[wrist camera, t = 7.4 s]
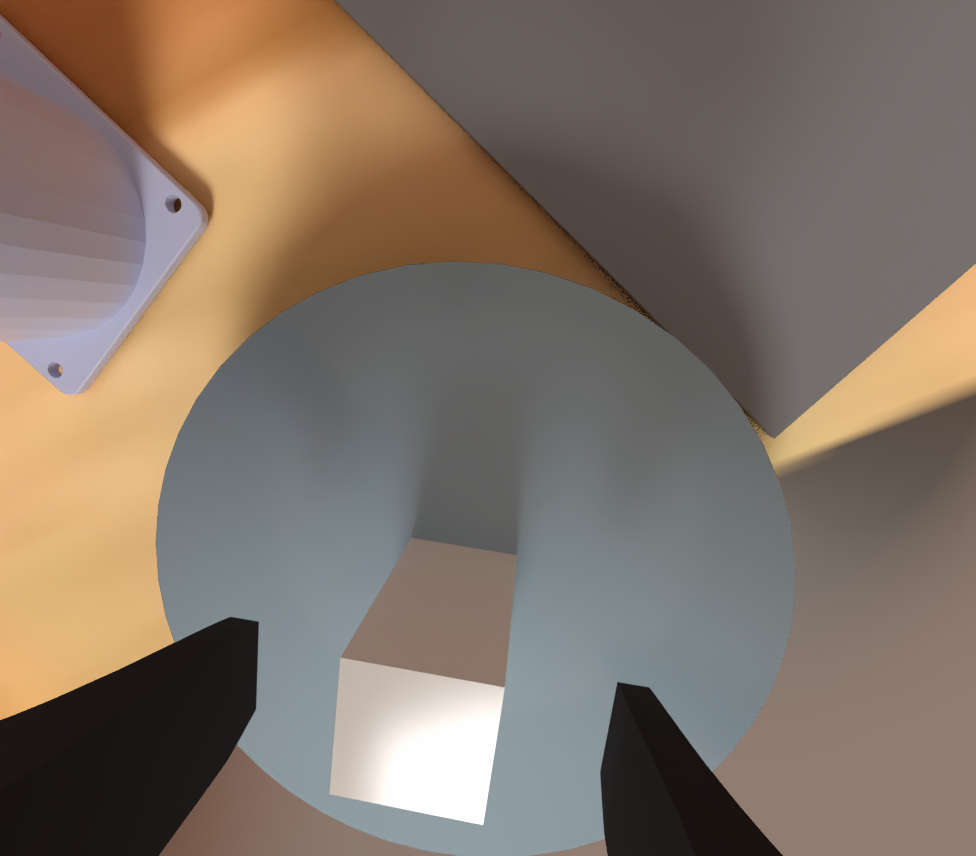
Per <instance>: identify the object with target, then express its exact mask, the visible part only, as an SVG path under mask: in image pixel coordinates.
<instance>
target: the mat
mask: <svg viewBox="0 0 976 856" xmlns="http://www.w3.org/2000/svg"><path fill="white" fill-rule="evenodd" d="M334 1H335V2H336V3H337V4H338V5H339V6H340V7H341V8H342V9H343V10H344V11H345V12H346V13H347V14H348V15H349V16H350V17H351V18H352V19H353V20H354V21H355V22H356V23H357V24H358V25H359V26H360V27H361V28H362V29H363V30H364V31H365V32H366V33H367V34H368V35H369V36H370V37H371V38H372V39H373V40H374V41H375V42H376V43H377V44H378V45H379V46H380V47H381V48H382V49H383V50H384V51H385V52H386V53H387V54H388V55H389V56H390V57H391V58H392V59H393V60H394V61H395V62H396V63H397V64H398V65H399V66H400V67H401V68H402V69H403V70H404V71H405V72H406V73H407V74H408V75H409V76H410V77H411V78H412V79H413V80H414V81H415V82H416V83H417V84H418V85H419V86H420V87H421V88H422V89H423V90H424V91H425V92H426V93H427V94H428V95H429V96H430V97H431V98H432V99H433V100H434V101H435V102H436V103H437V104H438V105H439V106H440V107H441V108H442V109H443V110H444V111H445V112H446V113H447V114H448V115H449V116H450V117H451V118H452V119H453V120H454V121H455V122H456V123H457V124H458V125H459V126H460V127H461V128H462V129H463V130H464V131H465V132H466V133H467V134H468V135H469V136H470V137H471V138H472V139H473V140H474V141H475V142H476V143H477V144H478V145H479V146H480V147H481V148H482V149H483V150H484V151H485V152H486V153H487V154H488V155H489V156H490V157H491V158H492V159H493V160H494V161H495V162H496V163H497V164H498V165H499V166H500V167H501V168H502V169H503V170H504V171H505V172H506V173H507V174H508V175H509V176H510V177H511V178H512V179H513V180H514V181H515V182H516V183H517V184H518V185H519V186H520V187H521V188H522V189H523V190H524V191H525V192H526V193H527V194H528V195H529V196H530V197H531V198H532V199H533V200H534V201H535V202H536V203H537V204H538V205H539V206H540V207H541V208H542V209H543V210H544V211H545V212H546V213H547V214H548V215H549V216H550V217H551V218H552V219H553V220H554V221H555V222H556V223H557V224H558V225H559V226H560V227H561V228H562V229H563V230H564V231H565V232H566V233H567V234H568V235H569V236H570V237H571V238H572V239H573V240H574V241H575V242H576V243H577V244H578V245H579V246H580V247H581V248H582V249H583V250H584V251H585V252H586V253H587V254H588V255H589V256H590V257H591V258H592V259H593V260H594V261H595V262H596V263H597V264H598V265H599V266H600V267H601V268H602V269H603V270H604V271H605V272H606V273H607V274H608V275H609V276H610V277H611V278H612V279H613V280H614V281H615V282H616V283H617V284H618V285H619V286H620V287H621V288H622V289H623V290H624V291H625V292H626V293H627V294H628V295H629V296H630V297H631V298H632V299H633V300H634V301H635V302H636V303H637V304H638V305H639V306H640V307H641V308H642V309H643V310H644V311H645V312H646V313H647V314H648V315H649V316H650V317H651V318H652V319H653V320H654V321H655V322H656V323H657V324H658V325H659V326H660V327H661V328H662V329H664V330H665V331H666V332H668V333H669V334H671V335H672V336H674V337H675V338H676V339H677V340H679V341H680V342H681V343H682V344H683V345H684V346H685V347H686V348H687V349H688V350H689V351H690V352H692V353H693V354H694V355H695V356H696V357H697V358H698V359H699V360H700V361H701V362H702V363H703V364H705V365H706V366H707V367H708V368H709V369H710V370H711V371H712V372H713V374H714V375H715V376H716V377H717V378H718V380H719V381H720V382H721V383H722V385H723V386H724V387H725V388H726V389H727V391H728V392H729V393H730V394H731V396H732V397H733V398H734V399H735V401H736V402H737V403H738V404H739V405H740V407H741V408H742V409H743V410H744V411H745V412H746V413H747V414H748V415H749V416H750V417H751V418H752V419H753V420H754V421H755V422H756V423H757V424H758V425H759V426H760V427H761V428H762V429H763V430H764V431H765V432H766V433H767V434H768V435H769V436H771V437H773V438H775V437H777V436H778V435H779V434H780V433H781V432H782V431H784V430H785V429H786V428H787V427H788V426H789V425H790V424H792V423H793V422H794V421H795V420H796V419H797V418H798V417H800V416H801V415H802V414H803V413H804V412H805V411H807V410H808V409H809V408H810V407H811V406H812V405H813V404H815V403H816V402H817V401H818V400H819V399H820V398H821V397H823V396H824V395H825V394H826V393H827V392H828V391H830V390H831V389H832V388H833V387H834V386H835V385H836V384H838V383H839V382H840V381H841V380H842V379H843V378H844V377H846V376H847V375H848V374H849V373H850V372H851V371H853V370H854V369H855V368H856V367H857V366H858V365H859V364H861V363H862V362H863V361H864V360H865V359H866V358H867V357H869V356H870V355H871V354H872V353H873V352H874V351H876V350H877V349H878V348H879V347H880V346H881V345H882V344H884V343H885V342H886V341H887V340H888V339H889V338H890V337H892V336H893V335H894V334H895V333H896V332H897V331H899V330H900V329H901V328H902V327H903V326H904V325H905V324H907V323H908V322H909V321H910V320H911V319H912V318H914V317H915V316H916V315H917V314H918V313H919V312H920V311H922V310H923V309H924V308H925V307H926V306H927V305H928V304H930V303H931V302H932V301H933V300H934V299H935V298H937V297H938V296H939V295H940V294H941V293H942V292H943V291H945V290H946V289H947V288H948V287H949V286H950V285H951V284H953V283H954V282H955V281H956V280H957V279H958V278H960V277H961V276H962V275H963V274H964V273H965V272H966V271H968V270H969V269H970V268H971V267H972V266H973V265H974V264H976V0H334Z"/></svg>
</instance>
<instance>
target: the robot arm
mask: <svg viewBox="0 0 976 856" xmlns="http://www.w3.org/2000/svg"><path fill="white" fill-rule="evenodd" d="M0 33H1V37H0V341H5V342H6V343H7V344H8V345H9V346H10V347H11V348H13V349H14V350H15V351H16V352H17V353H18V354H19V355H20V356H22V357H23V358H24V359H25V360H26V361H27V362H28V363H29V364H31V365H32V366H33V367H34V368H35V369H36V370H37V371H38V372H39V373H41V374H42V375H43V376H44V377H45V378H46V379H47V380H48V381H50V382H51V383H52V384H53V385H54V386H55V387H56V388H57V389H58V390H60V391H61V392H62V393H64V394H66V395H76V394H81V393H84V392H85V391H86V390H87V389H88V388H89V387H90V385H91V384H92V383H93V381H94V380H95V379H96V377H97V376H98V374H99V373H100V372H101V370H102V369H103V368H104V366H105V365H106V364H107V362H108V361H109V360H110V358H111V357H112V355H113V354H114V353H115V351H116V350H117V349H118V347H119V346H120V345H121V343H122V342H123V341H124V339H125V338H126V336H127V335H128V334H129V332H130V331H131V330H132V328H133V327H134V326H135V324H136V323H137V322H138V320H139V319H140V317H141V316H142V315H143V313H144V312H145V311H146V309H147V308H148V307H149V305H150V304H151V302H152V301H153V300H154V298H155V297H156V296H157V294H158V293H159V292H160V290H161V289H162V288H163V286H164V285H165V283H166V282H167V281H168V279H169V278H170V277H171V275H172V274H173V273H174V271H175V270H176V269H177V267H178V266H179V264H180V263H181V262H182V260H183V259H184V258H185V256H186V255H187V254H188V252H189V251H190V250H191V248H192V247H193V245H194V244H195V243H196V241H197V240H198V239H199V237H200V236H201V235H202V233H203V232H204V230H205V229H206V227H207V225H208V214H207V211H206V209H205V208H204V207H203V205H202V204H201V203H200V202H198V201H197V200H196V199H195V198H194V197H193V196H192V195H191V194H190V193H189V192H188V191H187V190H186V189H185V188H184V187H183V186H182V185H181V184H179V183H178V182H177V181H176V180H175V179H174V178H173V177H172V176H171V175H170V174H169V173H168V172H167V171H166V170H165V169H164V168H163V167H161V166H160V165H159V164H158V163H157V162H156V161H155V160H154V159H153V158H152V157H151V156H150V155H149V154H148V153H147V152H146V151H145V150H143V149H142V148H141V147H140V146H139V145H138V144H137V143H136V142H135V141H134V140H133V139H132V138H131V137H130V136H129V135H128V134H127V133H126V132H124V131H123V130H122V129H121V128H120V127H119V126H118V125H117V124H116V123H115V122H114V121H113V120H112V119H111V118H110V117H109V116H108V115H106V114H105V113H104V112H103V111H102V110H101V109H100V108H99V107H98V106H97V105H96V104H95V103H94V102H93V101H92V100H91V99H90V98H89V97H87V96H86V95H85V94H84V93H83V92H82V91H81V90H80V89H79V88H78V87H77V86H76V85H75V84H74V83H73V82H72V81H71V80H69V79H68V78H67V77H66V76H65V75H64V74H63V73H62V72H61V71H60V70H59V69H58V68H57V67H56V66H55V65H54V64H53V63H51V62H50V61H49V60H48V59H47V58H46V57H45V56H44V55H43V54H42V53H41V52H40V51H39V50H38V49H37V48H36V47H35V46H34V45H32V44H31V43H30V42H29V41H28V40H27V39H26V38H25V37H24V36H23V35H22V34H21V33H20V32H19V31H18V30H17V29H16V28H14V27H13V26H12V25H11V24H10V23H9V22H8V21H7V20H6V19H5V18H4V17H3V16H2V15H1V14H0ZM178 198H179V199H180V200H181V205H182V206H181V209H180V210H179V211H178V212H176V211H175V209H174V203H175V200H177V199H178ZM59 365H60V366H61V367H62V375H61V373H60V372H59V368H58V367H59ZM258 633H259V621H253V620H247V619H241V618H235V617H228V618H226V619H224V620H221V621H219V622H217V623H214V624H212V625H210V626H208V627H206V628H204V629H202V630H200V631H197V632H195V633H193V634H191V635H189V636H187V637H185V638H183V639H181V640H179V641H177V642H175V643H173V644H171V645H169V646H167V647H165V648H163V649H161V650H159V651H157V652H154V653H152V654H150V655H148V656H146V657H144V658H142V659H140V660H138V661H136V662H134V663H132V664H130V665H128V666H126V667H124V668H121V669H119V670H117V671H115V672H113V673H110V674H108V675H106V676H104V677H102V678H99V679H97V680H95V681H93V682H90V683H88V684H86V685H84V686H81V687H79V688H77V689H75V690H73V691H70V692H68V693H66V694H64V695H61V696H59V697H57V698H55V699H52V700H50V701H48V702H45V703H43V704H40V705H38V706H36V707H33V708H31V709H28V710H26V711H23V712H21V713H18V714H16V715H13V716H10V717H8V718H5V719H2V720H0V856H159V854H160V853H161V852H162V850H163V849H164V847H165V846H166V845H167V843H168V842H169V841H170V839H171V838H172V837H173V835H174V834H175V832H176V831H177V830H178V828H179V827H180V826H181V824H182V823H183V821H184V820H185V819H186V817H187V816H188V814H189V813H190V812H191V811H192V809H193V808H194V806H195V805H196V804H197V802H198V801H199V799H200V798H201V797H202V795H203V794H204V792H205V791H206V790H207V788H208V787H209V786H210V784H211V783H212V781H213V780H214V779H215V777H216V776H217V774H218V773H219V771H220V770H221V769H222V767H223V766H224V764H225V763H226V762H227V760H228V758H229V756H230V755H231V753H232V751H233V750H234V748H235V746H236V745H237V743H238V741H239V740H240V738H241V736H242V734H243V732H244V731H245V729H246V727H247V725H248V723H249V721H250V720H251V718H252V716H253V714H254V712H255V710H256V699H257V666H258ZM600 778H601V795H602V811H603V824H604V835H605V840H606V847H607V853H608V856H783V855H782V854H781V853H780V852H779V851H778V850H777V849H776V848H775V847H774V845H773V844H772V843H771V842H770V841H769V840H768V839H767V837H766V836H765V835H764V834H763V833H762V832H761V831H760V829H759V828H758V827H757V826H756V825H755V824H754V822H753V821H752V820H751V819H750V818H749V816H748V815H747V814H746V813H745V812H744V811H743V810H742V808H741V807H740V806H739V805H738V804H737V802H736V801H735V800H734V799H733V797H732V796H731V795H730V794H729V793H728V791H727V790H726V789H725V788H724V787H723V785H722V784H721V783H720V782H719V780H718V779H717V778H716V776H715V775H714V774H713V772H712V771H711V770H710V769H709V767H708V766H707V765H706V763H705V762H704V761H703V760H702V758H701V757H700V756H699V754H698V753H697V752H696V750H695V749H694V748H693V746H692V745H691V744H690V742H689V741H688V739H687V738H686V737H685V735H684V734H683V733H682V731H681V730H680V729H679V727H678V726H677V724H676V723H675V722H674V720H673V719H672V717H671V716H670V715H669V713H668V712H667V711H666V709H665V708H664V706H663V705H662V704H661V702H660V701H659V700H658V698H657V697H656V695H655V694H654V693H653V691H652V690H651V689H650V687H644V686H638V685H632V684H627V683H621V682H617V687H616V692H615V697H614V702H613V708H612V713H611V718H610V723H609V728H608V733H607V739H606V744H605V749H604V754H603V759H602V764H601V770H600Z"/></svg>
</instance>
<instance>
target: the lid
mask: <svg viewBox="0 0 976 856" xmlns="http://www.w3.org/2000/svg"><path fill="white" fill-rule="evenodd" d="M156 554H157V568H158V581H159V586H160V591H161V596H162V601H163V606H164V610H165V615H166V619H167V622H168V625H169V628H170V631H171V633H172V636H173V639H174V642H177V641H179V640H181V639H183V638H185V637H187V636H189V635H191V634H193V633H195V632H197V631H200V630H202V629H204V628H206V627H208V626H210V625H212V624H214V623H217V622H219V621H221V620H224V619H226V618H228V617H235V618H241V619H247V620H253V621H259V633H258V666H257V699H256V710H255V712H254V714H253V716H252V718H251V720H250V721H249V723H248V725H247V727H246V729H245V731H244V732H243V734H242V736H241V738H240V740H239V741H238V743H237V745H238V746H239V747H240V748H241V749H242V750H243V751H244V752H245V753H246V754H247V755H248V756H249V757H250V758H251V759H252V760H253V761H254V762H255V763H256V764H257V765H258V766H259V767H260V768H261V769H262V770H263V771H265V772H266V773H267V774H268V775H270V776H271V777H272V778H273V779H275V780H276V781H277V782H278V783H280V784H281V785H282V786H283V787H285V788H286V789H287V790H288V791H290V792H291V793H293V794H294V795H296V796H297V797H299V798H300V799H302V800H304V801H305V802H307V803H308V804H310V805H311V806H313V807H315V808H316V809H318V810H319V811H321V812H323V813H325V814H327V815H329V816H331V817H333V818H335V819H337V820H339V821H341V822H343V823H345V824H347V825H349V826H351V827H353V828H355V829H358V830H360V831H363V832H365V833H369V834H371V835H374V836H376V837H379V838H381V839H384V840H387V841H390V842H394V843H398V844H401V845H406V846H409V847H413V848H417V849H421V850H424V851H431V852H438V853H445V854H451V855H458V856H529V855H539V854H544V853H550V852H555V851H560V850H566V849H572V848H575V847H578V846H582V845H585V844H589V843H592V842H595V841H598V840H602V839H605V835H604V824H603V811H602V795H601V778H600V770H601V764H602V759H603V754H604V749H605V744H606V739H607V733H608V728H609V723H610V718H611V713H612V708H613V702H614V697H615V692H616V687H617V682H621V683H627V684H632V685H638V686H644V687H650V689H651V690H652V691H653V693H654V694H655V695H656V697H657V698H658V700H659V701H660V702H661V704H662V705H663V706H664V708H665V709H666V711H667V712H668V713H669V715H670V716H671V717H672V719H673V720H674V722H675V723H676V724H677V726H678V727H679V729H680V730H681V731H682V733H683V734H684V735H685V737H686V738H687V739H688V741H689V742H690V744H691V745H692V746H693V748H694V749H695V750H696V752H697V753H698V754H699V756H700V757H701V758H702V760H703V761H704V762H705V763H706V765H707V766H708V767H709V769H710V770H711V771H713V770H714V769H715V768H716V767H717V766H718V765H719V764H720V763H721V762H722V761H723V760H724V759H725V758H726V757H727V756H728V755H729V754H730V753H731V752H732V750H733V749H734V748H735V746H736V745H737V744H738V742H739V741H740V740H741V738H742V737H743V736H744V734H745V733H746V731H747V730H748V729H749V727H750V726H751V725H752V723H753V722H754V720H755V718H756V716H757V714H758V713H759V711H760V709H761V707H762V705H763V703H764V702H765V700H766V698H767V696H768V694H769V692H770V690H771V689H772V686H773V683H774V680H775V678H776V675H777V672H778V670H779V667H780V664H781V661H782V659H783V656H784V653H785V650H786V645H787V640H788V635H789V631H790V626H791V621H792V616H793V609H794V589H795V560H794V550H793V540H792V530H791V525H790V521H789V517H788V514H787V509H786V505H785V501H784V497H783V493H782V489H781V486H780V483H779V481H778V478H777V476H776V474H775V471H774V469H773V466H772V464H771V462H770V459H769V457H768V454H767V452H766V450H765V447H764V445H763V443H762V442H761V440H760V438H759V437H758V435H757V433H756V432H755V430H754V428H753V427H752V425H751V423H750V422H749V420H748V418H747V417H746V415H745V413H744V412H743V410H742V408H741V407H740V405H739V404H738V403H737V402H736V401H735V399H734V398H733V397H732V396H731V394H730V393H729V392H728V391H727V389H726V388H725V387H724V386H723V385H722V383H721V382H720V381H719V380H718V378H717V377H716V376H715V375H714V374H713V372H712V371H711V370H710V369H709V368H708V367H707V366H706V365H705V364H703V363H702V362H701V361H700V360H699V359H698V358H697V357H696V356H695V355H694V354H693V353H692V352H690V351H689V350H688V349H687V348H686V347H685V346H684V345H683V344H682V343H681V342H680V341H679V340H677V339H676V338H675V337H674V336H672V335H671V334H669V333H668V332H666V331H665V330H664V329H662V328H661V327H659V326H658V325H656V324H655V323H653V322H652V321H651V320H649V319H648V318H646V317H645V316H643V315H642V314H640V313H639V312H638V311H636V310H634V309H632V308H630V307H628V306H626V305H624V304H622V303H620V302H618V301H616V300H614V299H612V298H610V297H608V296H606V295H604V294H602V293H600V292H598V291H596V290H594V289H592V288H589V287H586V286H583V285H580V284H577V283H574V282H572V281H569V280H566V279H563V278H560V277H557V276H554V275H551V274H548V273H544V272H539V271H533V270H528V269H523V268H518V267H513V266H508V265H503V264H491V263H474V262H457V261H451V262H438V263H426V264H414V265H405V266H400V267H396V268H391V269H387V270H382V271H378V272H373V273H369V274H364V275H361V276H358V277H356V278H353V279H350V280H348V281H345V282H342V283H340V284H337V285H334V286H332V287H329V288H327V289H324V290H321V291H319V292H317V293H316V294H314V295H312V296H310V297H308V298H307V299H305V300H303V301H301V302H299V303H297V304H296V305H294V306H292V307H290V308H288V309H287V310H285V311H283V312H282V313H280V314H279V315H278V316H276V317H275V318H274V319H272V320H271V321H270V322H268V323H267V324H266V325H264V326H263V327H262V328H260V329H259V330H258V331H256V332H255V333H254V334H253V335H251V336H250V337H249V338H248V339H247V340H246V341H245V342H244V343H243V344H242V345H241V346H240V347H239V348H238V349H237V350H236V351H235V352H234V353H233V354H232V355H231V356H230V357H229V358H228V359H227V360H226V361H225V362H224V363H223V364H222V365H221V366H220V368H219V369H218V370H217V372H216V373H215V374H214V376H213V377H212V378H211V380H210V381H209V383H208V384H207V385H206V387H205V388H204V389H203V391H202V392H201V394H200V395H199V396H198V398H197V399H196V401H195V403H194V405H193V407H192V409H191V410H190V412H189V414H188V416H187V418H186V420H185V422H184V424H183V426H182V428H181V429H180V431H179V433H178V436H177V439H176V442H175V444H174V447H173V450H172V453H171V456H170V458H169V461H168V464H167V467H166V470H165V475H164V480H163V485H162V490H161V495H160V499H159V504H158V516H157V532H156Z"/></svg>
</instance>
